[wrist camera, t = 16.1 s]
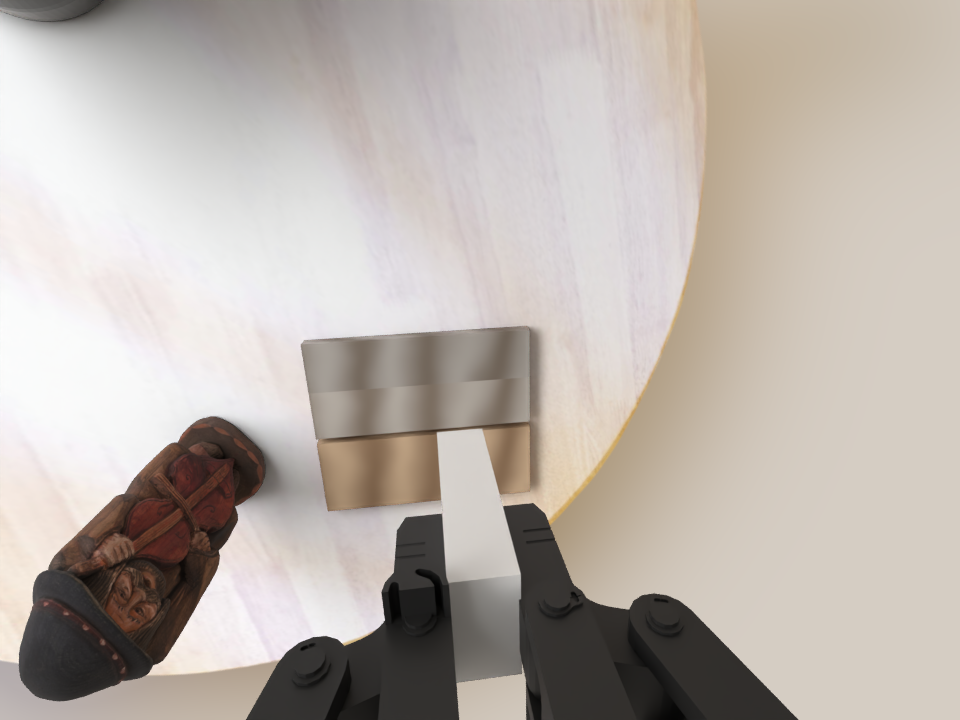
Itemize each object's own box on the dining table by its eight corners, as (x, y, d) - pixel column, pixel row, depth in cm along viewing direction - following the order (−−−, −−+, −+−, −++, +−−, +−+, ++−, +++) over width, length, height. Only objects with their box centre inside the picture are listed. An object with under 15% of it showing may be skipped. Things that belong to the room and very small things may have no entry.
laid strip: (319, 432, 50) (316, 439, 48) (304, 340, 47) (300, 344, 45) (526, 415, 52) (529, 421, 51) (526, 326, 49) (529, 329, 47)
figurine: (284, 478, 51) (166, 717, 27) (219, 510, 51) (47, 773, 28) (226, 401, 48) (36, 598, 24) (157, 436, 48) (-98, 664, 24)
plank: (330, 502, 53) (327, 511, 51) (319, 437, 50) (317, 444, 49) (527, 483, 55) (530, 491, 53) (526, 420, 52) (529, 426, 51)
